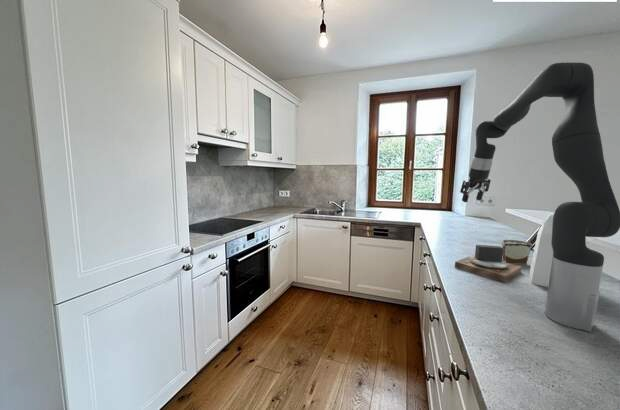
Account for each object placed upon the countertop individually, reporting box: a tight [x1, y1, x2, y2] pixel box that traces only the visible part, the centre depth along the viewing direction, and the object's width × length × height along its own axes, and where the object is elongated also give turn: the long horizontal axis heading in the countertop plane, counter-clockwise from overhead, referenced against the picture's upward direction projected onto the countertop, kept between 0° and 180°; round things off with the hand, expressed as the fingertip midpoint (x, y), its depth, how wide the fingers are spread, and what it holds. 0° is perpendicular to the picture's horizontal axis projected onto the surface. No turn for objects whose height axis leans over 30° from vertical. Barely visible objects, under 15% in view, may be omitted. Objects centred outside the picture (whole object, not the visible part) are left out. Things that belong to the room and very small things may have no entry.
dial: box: [469, 244, 507, 269], centre depth 103 cm, size 13×13×8 cm
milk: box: [528, 213, 554, 288], centre depth 90 cm, size 12×12×26 cm
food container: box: [500, 239, 533, 265], centre depth 114 cm, size 12×6×10 cm, turn 84°
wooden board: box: [454, 254, 522, 283], centre depth 104 cm, size 18×18×3 cm
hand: (471, 200), depth 116 cm, fingers open, 8 cm apart
